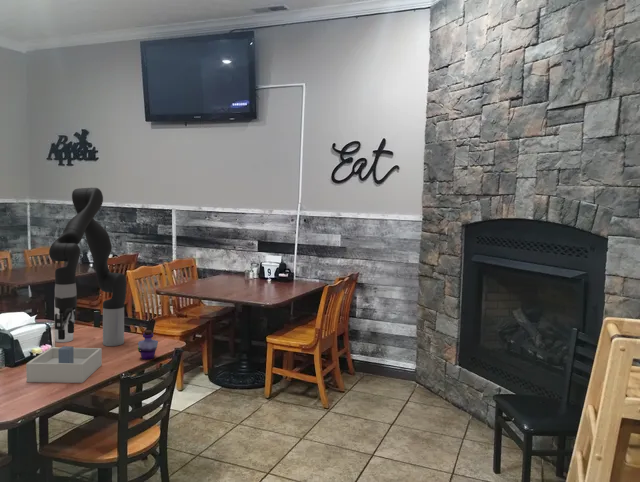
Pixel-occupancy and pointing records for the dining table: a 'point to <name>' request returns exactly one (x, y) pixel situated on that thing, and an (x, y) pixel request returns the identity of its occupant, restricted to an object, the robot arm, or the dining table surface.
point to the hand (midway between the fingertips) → (66, 336)
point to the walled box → (64, 366)
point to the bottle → (67, 335)
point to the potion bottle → (147, 346)
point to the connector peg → (66, 354)
